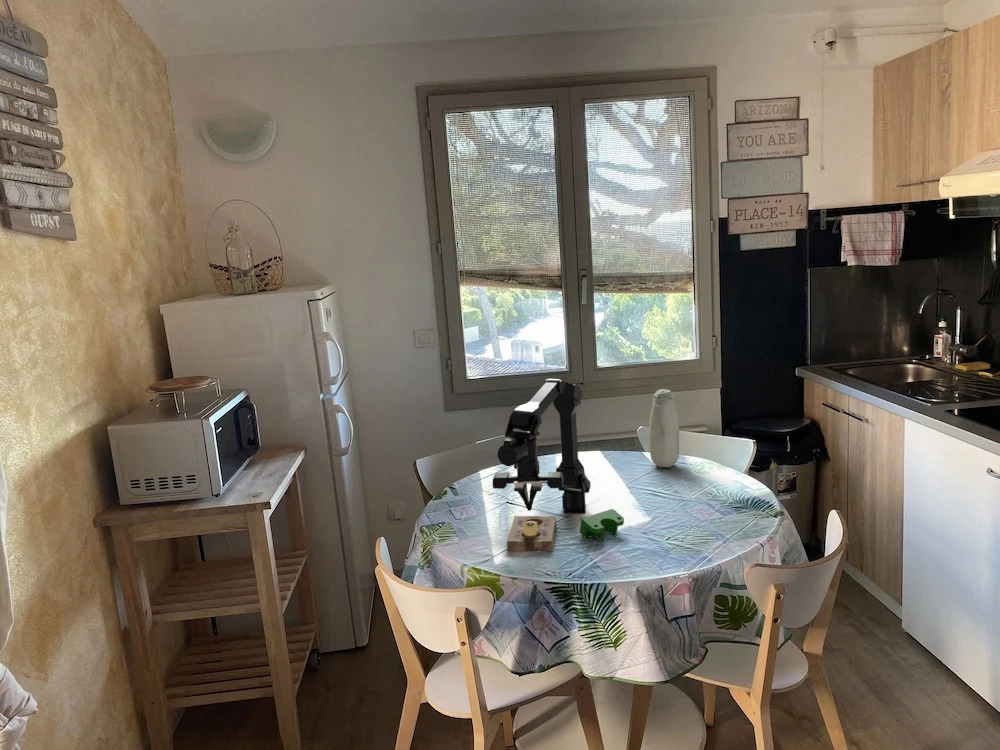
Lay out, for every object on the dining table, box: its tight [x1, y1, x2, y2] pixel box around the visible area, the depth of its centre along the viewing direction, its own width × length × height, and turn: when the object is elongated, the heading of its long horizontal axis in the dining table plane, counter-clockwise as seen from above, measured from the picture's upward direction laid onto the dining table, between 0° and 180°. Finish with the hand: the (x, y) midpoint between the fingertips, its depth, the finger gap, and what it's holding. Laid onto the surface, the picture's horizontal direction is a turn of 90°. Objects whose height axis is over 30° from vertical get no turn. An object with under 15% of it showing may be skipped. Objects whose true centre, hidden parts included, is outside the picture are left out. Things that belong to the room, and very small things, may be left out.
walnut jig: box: [506, 515, 557, 552], centre depth 206 cm, size 12×18×3 cm
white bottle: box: [648, 388, 680, 468], centre depth 257 cm, size 10×10×28 cm
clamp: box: [579, 508, 625, 541], centre depth 205 cm, size 12×6×9 cm, turn 114°
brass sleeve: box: [523, 521, 538, 538], centre depth 202 cm, size 4×4×6 cm
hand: (529, 510), depth 200 cm, fingers closed
